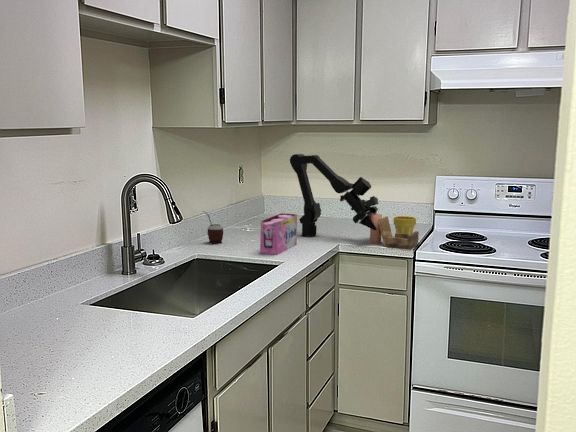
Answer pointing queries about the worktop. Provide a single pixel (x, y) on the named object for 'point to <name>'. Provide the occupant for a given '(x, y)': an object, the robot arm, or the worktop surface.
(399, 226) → the plant pot
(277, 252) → the gum box
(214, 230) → the mate gourd
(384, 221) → the brown wooden flat block
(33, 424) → the worktop surface
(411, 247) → the open wooden box
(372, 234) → the post
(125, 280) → the worktop surface
